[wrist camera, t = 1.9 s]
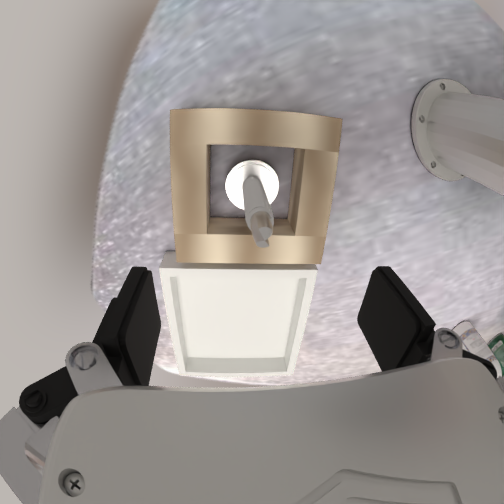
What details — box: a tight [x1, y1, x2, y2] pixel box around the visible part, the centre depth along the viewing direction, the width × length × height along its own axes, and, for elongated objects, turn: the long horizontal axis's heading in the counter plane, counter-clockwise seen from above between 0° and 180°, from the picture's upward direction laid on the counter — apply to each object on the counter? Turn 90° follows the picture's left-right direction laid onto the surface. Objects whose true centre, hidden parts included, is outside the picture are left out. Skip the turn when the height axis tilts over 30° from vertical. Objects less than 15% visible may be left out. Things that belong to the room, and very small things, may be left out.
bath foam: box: [452, 321, 502, 378], centre depth 34 cm, size 7×7×20 cm
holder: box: [170, 108, 342, 264], centre depth 25 cm, size 14×14×4 cm
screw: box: [226, 160, 279, 248], centre depth 21 cm, size 13×5×5 cm
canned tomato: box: [487, 333, 504, 378], centre depth 44 cm, size 8×8×11 cm
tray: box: [159, 251, 318, 377], centre depth 33 cm, size 16×18×4 cm
